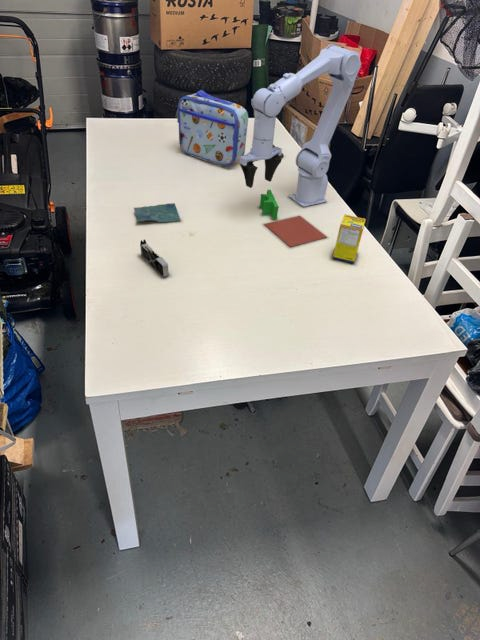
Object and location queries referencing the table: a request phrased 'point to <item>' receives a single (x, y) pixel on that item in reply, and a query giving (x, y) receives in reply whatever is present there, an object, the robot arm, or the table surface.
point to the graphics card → (154, 259)
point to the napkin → (295, 231)
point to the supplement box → (348, 238)
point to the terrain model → (158, 213)
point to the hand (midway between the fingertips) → (258, 183)
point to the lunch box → (212, 128)
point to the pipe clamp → (269, 204)
